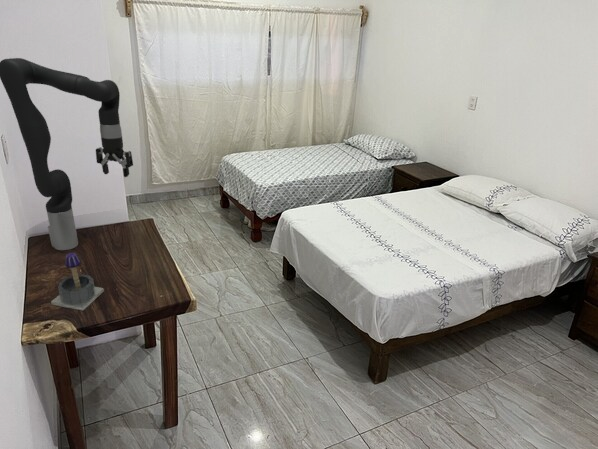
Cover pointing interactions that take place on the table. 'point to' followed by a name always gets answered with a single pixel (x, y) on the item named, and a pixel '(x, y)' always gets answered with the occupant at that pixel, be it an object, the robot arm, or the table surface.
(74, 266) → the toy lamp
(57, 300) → the collar stand
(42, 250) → the table surface
